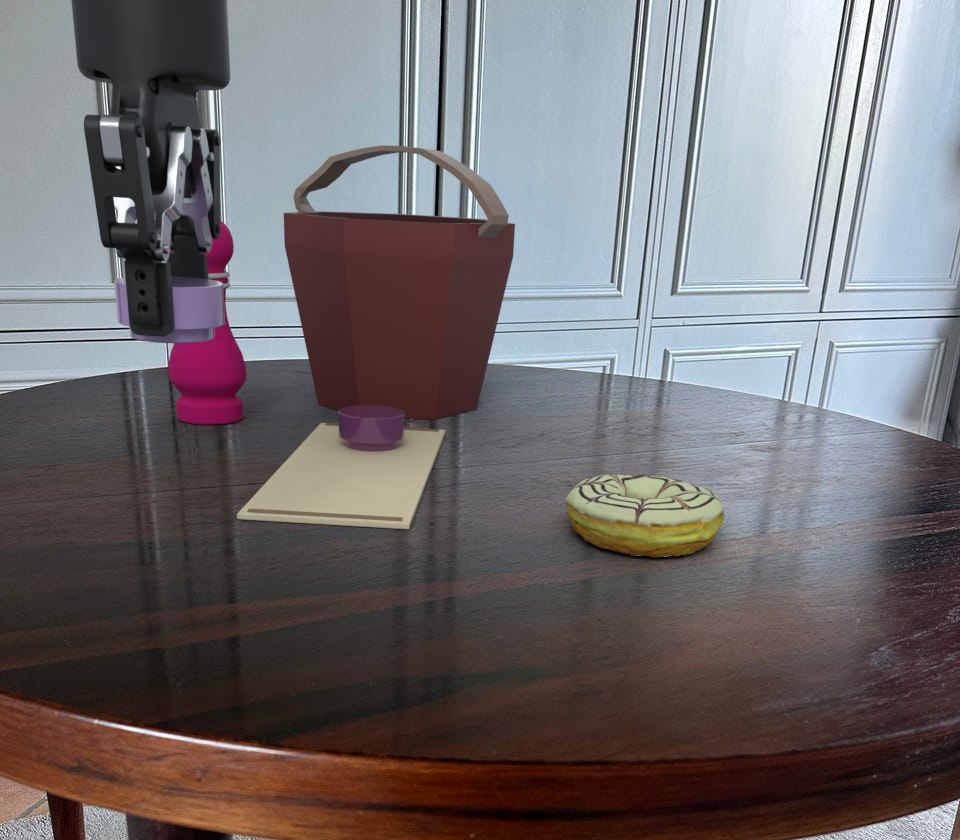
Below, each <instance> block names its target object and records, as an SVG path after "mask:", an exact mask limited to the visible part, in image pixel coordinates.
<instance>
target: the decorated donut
mask: <svg viewBox="0 0 960 840" xmlns="http://www.w3.org/2000/svg"><path fill="white" fill-rule="evenodd" d="M564 503H565V505H566V509H567V517H568V520H569V522H570V524H571V526H572V527H573V529H574V532H575V534H577V535H579V536H581V537H582V539H584V541H585V542H587V543H591V544H592V545H594V546H595V547H598V548H600V549H603V550H610V551H613V552H616V551H617V552H616V553H618V552H620V553H619V554H625V555H627V554H632V555H641V556H651V557H650V558H659V557H664V556H668V555H670V556H674V557H681V556H680V555H684V556H687V555H686V554H689V553H692V554H694V553H696V552H695V551H697V550H698V551H700V550H702V549H703V548H704V547H706V546H708V545H709V544H710V543H712V541H713V540H714V539H715V537H716V535H717V533H718V532H719V531H720V528H721V527H722V525H723V524H724V520H725V504H724V503H723V501H722V499H721V498H720V497H719V496H717V494H716V493H715V492H713V491H711V489H708V488H706V487H704V486H703V487H702V486H699V485H698V484H697V485H696V484H693V483H690V482H687V481H683V480H680V479H677V478H673V477H669V476H660V475H659V476H657V475H650V474H626V475H625V474H602V475H598V476H593V477H589V478H585V479H583V480H581V481H580V482H579V483H577V484H576V485H575V486H574V487H573V488H572V489H571V491H570V492H569V494H568V495H567V496H566V498H565V501H564ZM698 551H697V552H698ZM632 555H631V556H632ZM654 556H655V557H654Z"/></svg>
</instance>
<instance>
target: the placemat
mask: <svg viewBox="0 0 960 840" xmlns="http://www.w3.org/2000/svg"><path fill="white" fill-rule="evenodd" d="M445 435H446V429H440V428H439V429H437V428H420V427H405V437H404V439H402V440H400V441H398V446H397V448H395V449H392V450H388V451H377V452H371V451H359V450H354V449H351V448H348V447H347V446H346V444H345V440H343V439H341V438H340V437H339V432H338V423H333V422H332V423H330V422H320V423H319V424H318V426H316V428H314V430H313V431H312V432H311V433H310V434H309V435H308V436H307V437H306V439H304V441H302V443H301V444H300V445H299V446H298V447H297V448H296V449H295V450H294V452H293V453H292V454H291V455H290V456H289V457H288V458H287V459H286V460H285V461H284V463H282V464H281V466H280V467H279V468H278V469H277V470H276V471H275V472H274V473H273V474H272V475H271V477H269V479H268V480H267V481H266V482H265V483H264V484H263V485H262V486H261V487H260V488H259V489H258V490H257V492H256V493H255V494H254V495H253V496H252V497H251V498H250V499H249V501H247V502H246V503H245V504H244V506H243V507H242V508H241V509H240V510H239V511H238V512H237V513H236V519H237V520H243V521H244V520H245V521H260V522H261V521H262V522H277V523H279V522H280V523H294V524H310V525H312V524H313V525H329V526H330V525H331V526H346V527H361V528H362V527H364V528H380V529H395V530H397V529H399V530H410V528H411V526H412V523H413V521H414V518H415V515H416V512H417V509H418V507H419V504H420V502H421V499H422V497H423V494H424V491H425V488H426V486H427V483H428V481H429V478H430V476H431V473H432V470H433V467H434V464H435V462H436V460H437V457H438V454H439V451H440V449H441V446H442V444H443V440H444V439H445Z"/></svg>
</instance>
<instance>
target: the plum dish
mask: <svg viewBox="0 0 960 840" xmlns="http://www.w3.org/2000/svg"><path fill="white" fill-rule="evenodd" d="M337 416H338V418H337V420H338V421H337V422H338V423H337V424H338V432H339V437H340V438H341V439H343V440H345V444H346V446H347V447H348V448H351V449H354V450H359V451H371V452H377V451H388V450H392V449H395V448H397V446H398V441H400V440H402V439H404V437H405V428H406V427H405V426H406V419H405V412H404V411H403V410H401V409H398V408H394V407H389V406H381V405H355V406H348V407H344V408H341V409H340V410H337Z"/></svg>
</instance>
